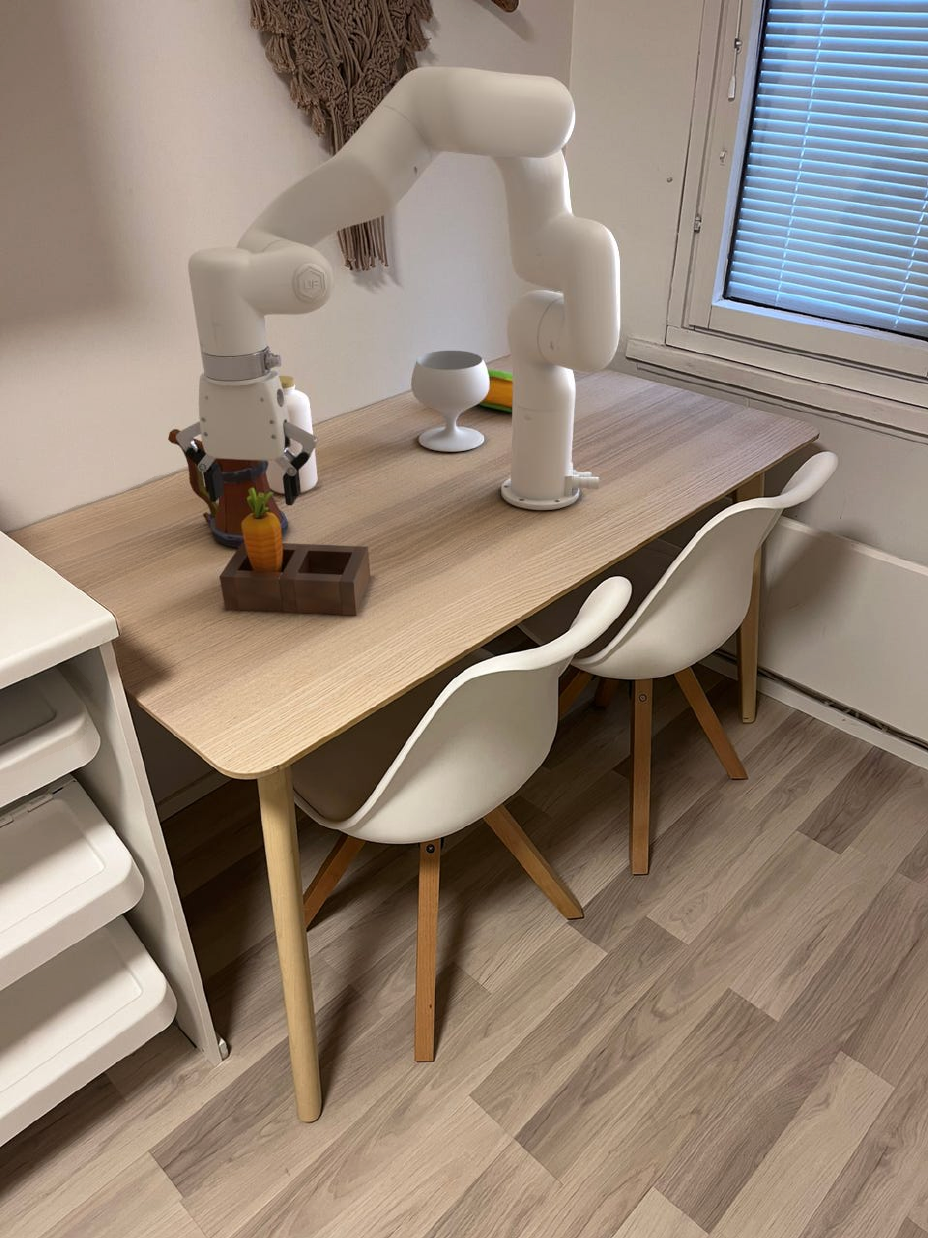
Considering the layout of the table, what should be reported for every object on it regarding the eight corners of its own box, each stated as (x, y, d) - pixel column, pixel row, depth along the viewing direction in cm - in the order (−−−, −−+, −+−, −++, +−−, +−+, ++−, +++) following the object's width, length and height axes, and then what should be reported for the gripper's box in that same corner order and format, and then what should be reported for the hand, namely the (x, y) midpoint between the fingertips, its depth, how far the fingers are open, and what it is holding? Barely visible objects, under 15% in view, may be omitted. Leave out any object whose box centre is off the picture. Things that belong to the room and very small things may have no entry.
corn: (474, 357, 183) (560, 374, 174) (475, 393, 188) (559, 411, 178) (453, 369, 178) (540, 387, 169) (455, 406, 183) (540, 425, 173)
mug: (162, 532, 136) (141, 438, 128) (212, 502, 145) (196, 412, 137) (257, 557, 129) (242, 459, 121) (304, 524, 138) (293, 431, 130)
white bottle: (308, 498, 146) (295, 389, 136) (260, 494, 147) (244, 386, 137) (325, 477, 153) (314, 372, 143) (278, 474, 154) (265, 370, 144)
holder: (370, 578, 124) (368, 546, 121) (356, 615, 116) (353, 582, 113) (247, 573, 125) (242, 541, 123) (225, 609, 117) (219, 576, 115)
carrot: (254, 583, 123) (238, 482, 115) (290, 582, 123) (277, 480, 115) (249, 602, 119) (233, 499, 111) (287, 600, 119) (274, 497, 111)
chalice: (487, 426, 172) (487, 347, 164) (491, 454, 160) (492, 371, 152) (414, 428, 172) (410, 349, 164) (412, 456, 160) (409, 372, 152)
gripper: (317, 356, 107) (328, 490, 116) (176, 352, 108) (198, 484, 117) (301, 375, 100) (314, 515, 109) (151, 370, 102) (177, 508, 111)
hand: (254, 499), depth 113 cm, fingers open, 9 cm apart
